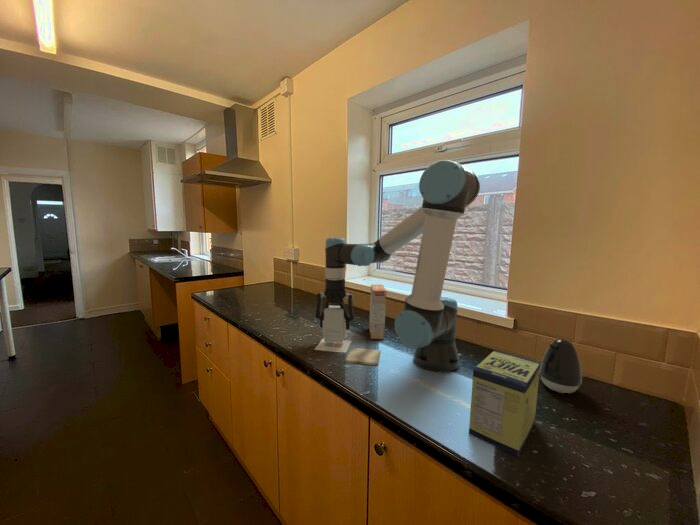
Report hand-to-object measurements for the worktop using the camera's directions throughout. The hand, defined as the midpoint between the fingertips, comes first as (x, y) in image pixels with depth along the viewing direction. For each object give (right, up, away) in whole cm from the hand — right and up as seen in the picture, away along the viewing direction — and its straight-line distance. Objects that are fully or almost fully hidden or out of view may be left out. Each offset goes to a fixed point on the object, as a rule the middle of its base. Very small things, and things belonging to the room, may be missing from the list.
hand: (334, 336), depth 116 cm
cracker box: (+17, -3, +15) cm, 23 cm away
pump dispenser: (+67, -9, -28) cm, 73 cm away
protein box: (+42, -10, -46) cm, 63 cm away
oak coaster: (+11, -5, -9) cm, 15 cm away
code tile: (0, -4, +1) cm, 4 cm away
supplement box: (0, -1, 0) cm, 1 cm away
